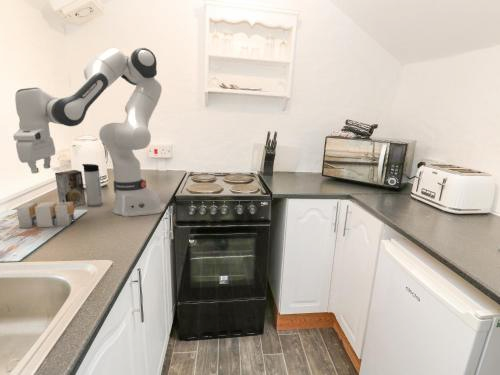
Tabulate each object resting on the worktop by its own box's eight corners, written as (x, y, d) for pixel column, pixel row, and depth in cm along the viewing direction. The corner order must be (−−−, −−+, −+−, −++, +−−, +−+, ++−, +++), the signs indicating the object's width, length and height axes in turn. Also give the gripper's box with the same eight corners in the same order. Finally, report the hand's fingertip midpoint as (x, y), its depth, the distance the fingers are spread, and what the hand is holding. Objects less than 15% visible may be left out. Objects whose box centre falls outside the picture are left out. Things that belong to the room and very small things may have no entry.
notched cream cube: (37, 227, 113) (34, 207, 111) (45, 221, 119) (42, 202, 117) (53, 226, 114) (51, 206, 112) (60, 220, 120) (58, 202, 118)
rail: (76, 220, 121) (74, 201, 119) (70, 225, 115) (68, 206, 113) (28, 222, 118) (25, 202, 116) (19, 227, 112) (16, 207, 110)
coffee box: (78, 201, 146) (74, 169, 142) (86, 203, 142) (82, 171, 138) (59, 206, 138) (54, 172, 134) (66, 208, 135) (62, 174, 131)
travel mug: (85, 204, 141) (80, 163, 136) (99, 202, 146) (95, 162, 141) (89, 207, 137) (84, 165, 132) (104, 205, 141) (100, 163, 136)
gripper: (39, 131, 118) (45, 165, 121) (10, 135, 98) (17, 176, 102) (57, 131, 119) (61, 165, 122) (31, 136, 100) (37, 175, 103)
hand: (41, 170), depth 112 cm, fingers open, 8 cm apart
